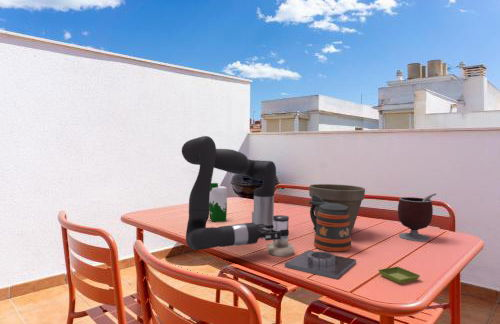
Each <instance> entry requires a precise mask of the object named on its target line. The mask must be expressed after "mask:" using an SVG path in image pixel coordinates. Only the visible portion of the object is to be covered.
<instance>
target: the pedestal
mask: <svg viewBox="0 0 500 324" xmlns="http://www.w3.org/2000/svg"><path fill="white" fill-rule="evenodd" d="M266 246H267V247H266V248H267V254H268V255H270V256H273V257H283V258H284V257H290V256H293V255H294V253H295V245H294V244H292V243H289V242H288V247H286V248H277V247H274V246H273V242H270V243H268V244H267V245H266Z"/></svg>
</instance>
